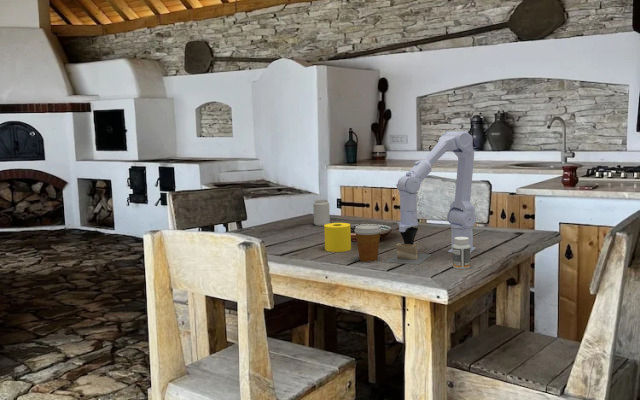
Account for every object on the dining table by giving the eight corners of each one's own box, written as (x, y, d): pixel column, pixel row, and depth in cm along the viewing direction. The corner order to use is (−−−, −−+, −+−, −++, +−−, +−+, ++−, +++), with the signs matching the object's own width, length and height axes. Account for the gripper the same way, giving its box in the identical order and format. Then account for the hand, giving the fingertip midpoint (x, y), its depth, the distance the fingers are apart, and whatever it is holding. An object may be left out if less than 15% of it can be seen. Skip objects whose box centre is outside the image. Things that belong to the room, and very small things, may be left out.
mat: (400, 253, 226) (400, 251, 226) (432, 255, 221) (432, 254, 221) (385, 262, 212) (385, 261, 212) (418, 265, 207) (418, 264, 207)
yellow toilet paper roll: (321, 248, 239) (320, 224, 238) (344, 245, 243) (344, 222, 242) (330, 253, 230) (330, 228, 229) (355, 250, 234) (354, 225, 232)
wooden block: (398, 256, 218) (397, 243, 216) (417, 257, 215) (416, 244, 213) (397, 258, 216) (396, 245, 215) (416, 259, 213) (415, 246, 212)
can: (312, 224, 293) (311, 199, 292) (327, 223, 295) (326, 198, 294) (316, 227, 286) (315, 201, 284) (331, 225, 288) (331, 200, 287)
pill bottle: (467, 265, 205) (467, 235, 204) (472, 269, 199) (472, 239, 198) (450, 265, 205) (450, 236, 204) (455, 270, 199) (455, 239, 198)
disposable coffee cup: (359, 256, 223) (358, 223, 222) (385, 257, 220) (384, 224, 218) (351, 262, 214) (350, 228, 213) (377, 263, 211) (377, 229, 209)
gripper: (404, 207, 222) (404, 243, 224) (390, 213, 209) (390, 252, 211) (423, 207, 219) (423, 245, 221) (410, 213, 206) (410, 253, 208)
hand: (408, 248), depth 216 cm, fingers closed
